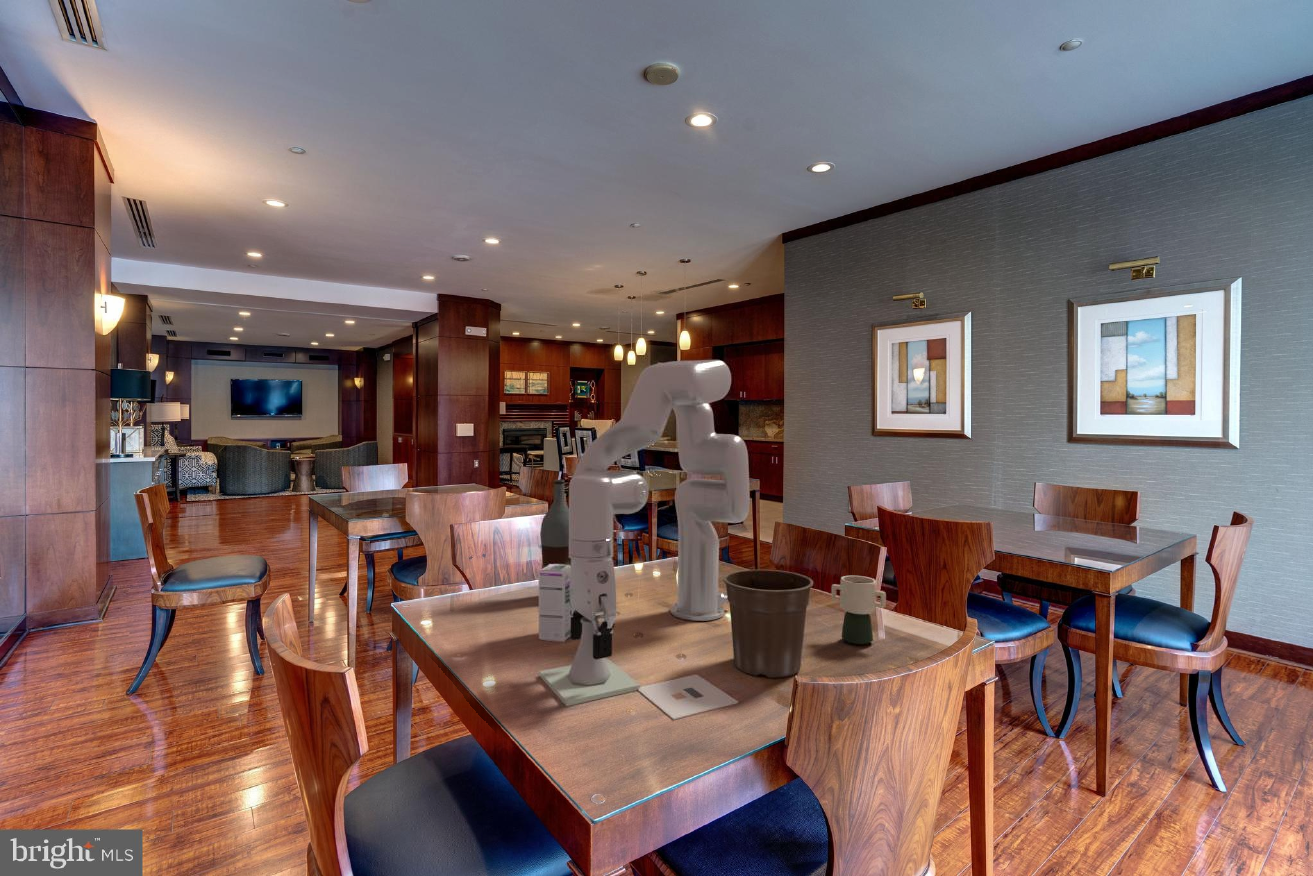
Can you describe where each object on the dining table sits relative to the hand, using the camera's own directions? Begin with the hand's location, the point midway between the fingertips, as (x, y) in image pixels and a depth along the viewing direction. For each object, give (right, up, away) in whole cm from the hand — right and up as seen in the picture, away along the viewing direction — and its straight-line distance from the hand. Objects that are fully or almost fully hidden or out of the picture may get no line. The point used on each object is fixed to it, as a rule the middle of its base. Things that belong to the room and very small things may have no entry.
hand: (590, 647), depth 103 cm
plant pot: (+32, -7, +9) cm, 33 cm away
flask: (0, -5, 0) cm, 5 cm away
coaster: (0, -6, 0) cm, 6 cm away
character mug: (+53, -7, +22) cm, 57 cm away
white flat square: (+16, -6, -5) cm, 18 cm away
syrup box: (-10, -6, +22) cm, 25 cm away
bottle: (-14, -5, +50) cm, 52 cm away
